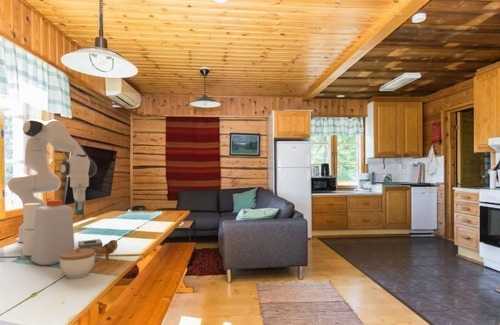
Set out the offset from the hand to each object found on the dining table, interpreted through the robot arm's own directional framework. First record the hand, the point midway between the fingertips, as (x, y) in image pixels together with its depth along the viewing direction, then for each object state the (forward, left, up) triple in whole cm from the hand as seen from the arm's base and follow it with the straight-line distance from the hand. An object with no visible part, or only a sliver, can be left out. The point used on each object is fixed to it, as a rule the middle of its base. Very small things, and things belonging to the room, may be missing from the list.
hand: (79, 209), depth 163 cm
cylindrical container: (-1, -21, -21) cm, 29 cm away
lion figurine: (+30, +7, -21) cm, 37 cm away
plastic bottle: (+18, -11, -21) cm, 30 cm away
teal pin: (0, 0, -3) cm, 3 cm away
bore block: (+11, +4, -21) cm, 24 cm away
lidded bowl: (+46, -4, -21) cm, 51 cm away
